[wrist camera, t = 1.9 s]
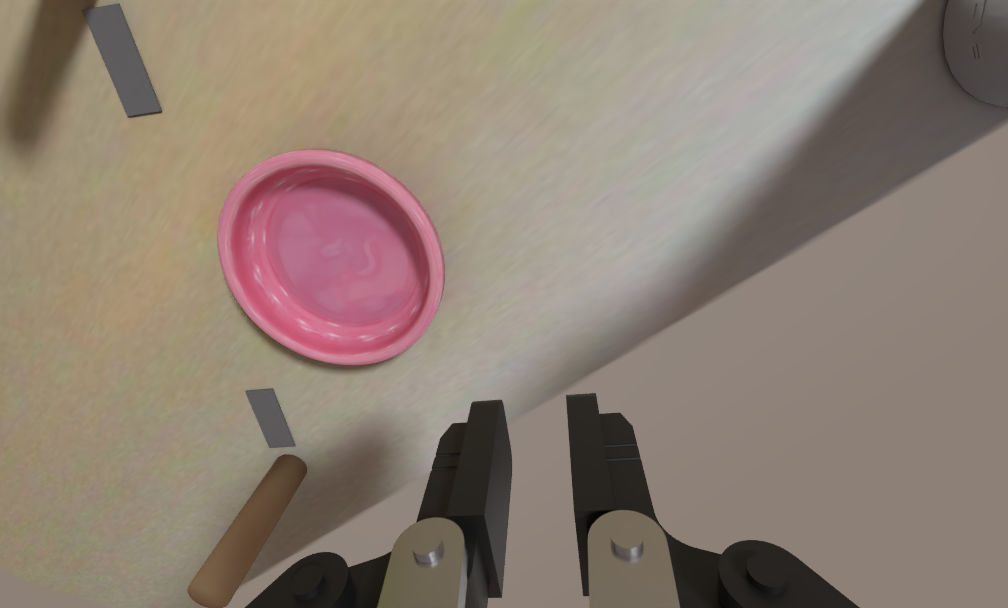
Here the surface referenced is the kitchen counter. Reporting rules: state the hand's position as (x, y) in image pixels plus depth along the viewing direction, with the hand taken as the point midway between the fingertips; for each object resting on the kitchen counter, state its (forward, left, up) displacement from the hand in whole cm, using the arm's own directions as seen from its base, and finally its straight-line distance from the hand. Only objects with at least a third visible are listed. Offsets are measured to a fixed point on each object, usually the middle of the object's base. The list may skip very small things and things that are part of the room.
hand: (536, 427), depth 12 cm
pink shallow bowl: (+12, 0, -17) cm, 21 cm away
